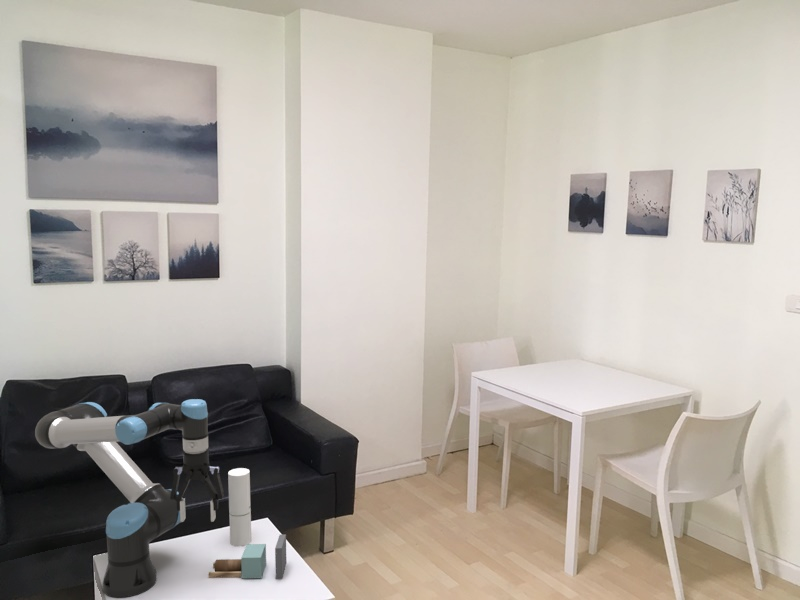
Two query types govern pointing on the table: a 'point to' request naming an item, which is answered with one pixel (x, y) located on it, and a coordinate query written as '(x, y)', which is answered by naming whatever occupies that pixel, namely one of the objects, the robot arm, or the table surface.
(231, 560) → the dowel
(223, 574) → the rails
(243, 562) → the block
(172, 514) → the robot arm
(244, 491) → the cylindrical container
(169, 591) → the table surface
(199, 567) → the table surface
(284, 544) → the wall
